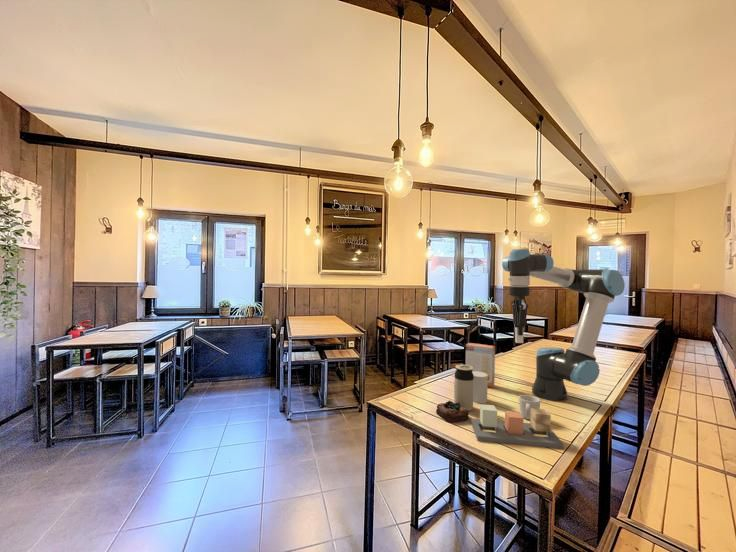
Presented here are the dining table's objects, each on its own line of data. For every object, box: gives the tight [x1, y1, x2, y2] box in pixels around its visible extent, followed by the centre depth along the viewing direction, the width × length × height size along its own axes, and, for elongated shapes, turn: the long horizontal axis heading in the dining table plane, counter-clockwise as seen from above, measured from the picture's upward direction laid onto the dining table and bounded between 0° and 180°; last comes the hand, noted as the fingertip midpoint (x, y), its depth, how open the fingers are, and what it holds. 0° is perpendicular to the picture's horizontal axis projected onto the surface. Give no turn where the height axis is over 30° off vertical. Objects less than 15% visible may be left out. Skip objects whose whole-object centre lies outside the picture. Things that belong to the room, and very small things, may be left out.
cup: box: [518, 394, 542, 421], centre depth 132 cm, size 11×8×8 cm
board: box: [470, 418, 564, 449], centre depth 119 cm, size 28×14×2 cm, turn 81°
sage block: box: [479, 403, 498, 427], centre depth 120 cm, size 5×5×6 cm
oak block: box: [529, 408, 552, 432], centre depth 117 cm, size 5×5×6 cm
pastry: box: [435, 400, 470, 424], centre depth 133 cm, size 11×12×6 cm
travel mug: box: [453, 364, 474, 412], centre depth 142 cm, size 8×8×18 cm
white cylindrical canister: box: [472, 371, 488, 404], centre depth 151 cm, size 8×8×12 cm
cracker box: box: [465, 342, 496, 388], centre depth 173 cm, size 14×6×21 cm, turn 55°
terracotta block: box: [504, 410, 525, 435], centre depth 119 cm, size 5×5×6 cm
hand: (519, 342), depth 135 cm, fingers closed
